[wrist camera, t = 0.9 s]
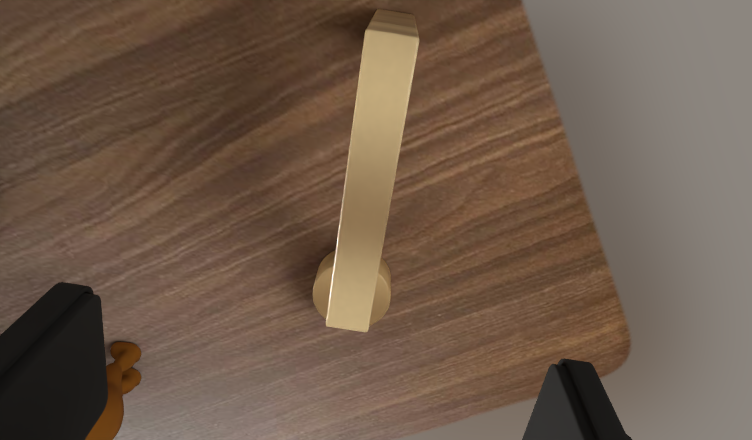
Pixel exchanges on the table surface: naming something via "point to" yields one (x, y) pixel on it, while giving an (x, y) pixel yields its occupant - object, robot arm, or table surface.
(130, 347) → the toy figurine
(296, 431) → the table surface
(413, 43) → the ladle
